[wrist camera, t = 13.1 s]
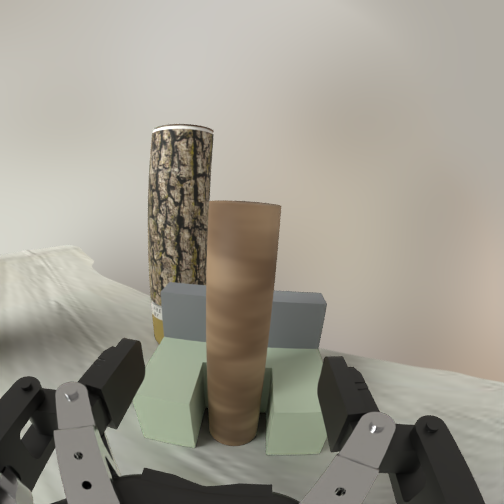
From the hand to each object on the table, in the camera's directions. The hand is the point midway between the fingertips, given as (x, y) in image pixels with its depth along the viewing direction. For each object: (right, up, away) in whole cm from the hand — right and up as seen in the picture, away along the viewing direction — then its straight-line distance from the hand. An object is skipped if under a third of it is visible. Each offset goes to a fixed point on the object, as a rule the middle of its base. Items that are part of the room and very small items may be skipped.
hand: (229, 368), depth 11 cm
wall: (0, -8, +15) cm, 17 cm away
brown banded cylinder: (-1, -10, +8) cm, 13 cm away
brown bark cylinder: (-8, -6, +22) cm, 24 cm away
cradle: (-1, -9, +10) cm, 14 cm away
